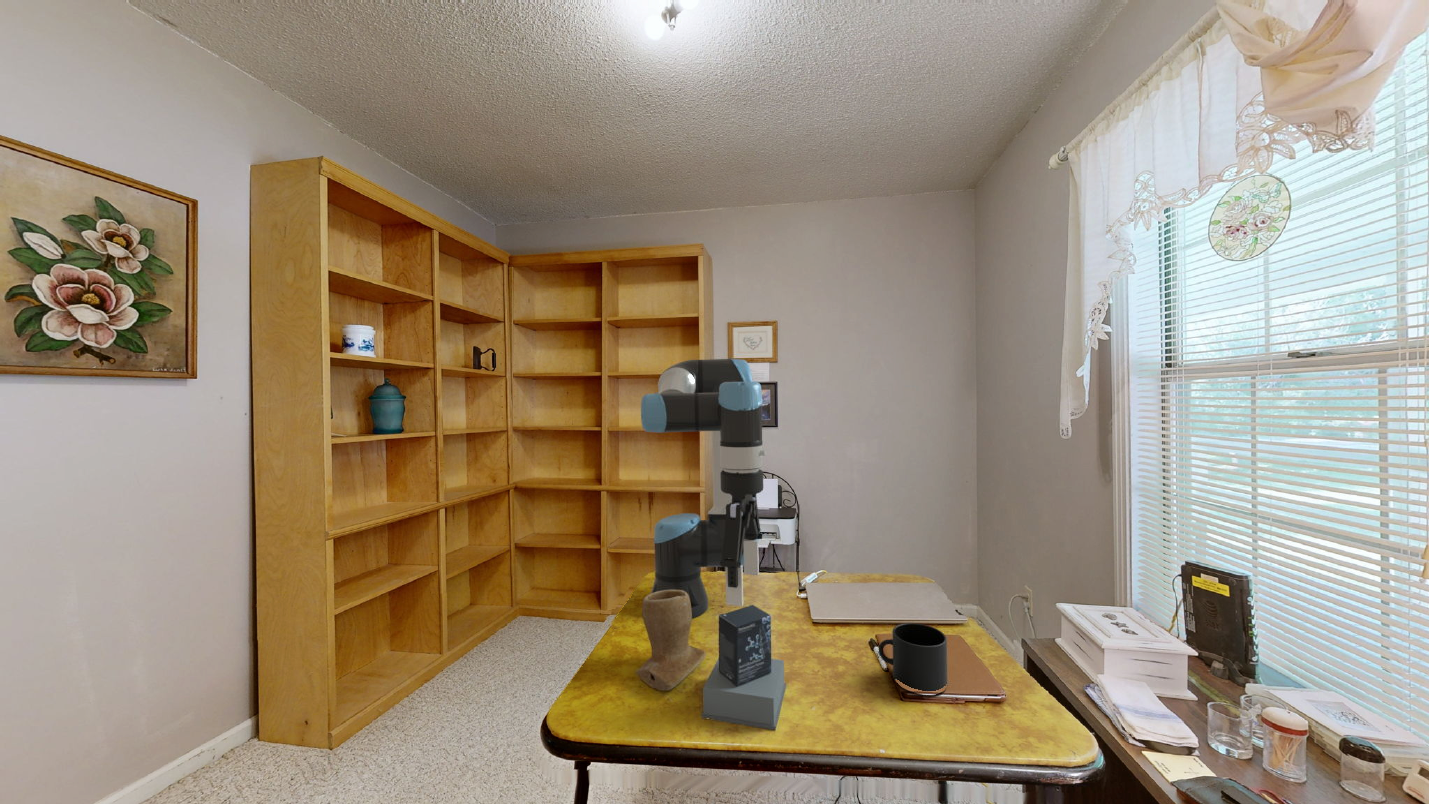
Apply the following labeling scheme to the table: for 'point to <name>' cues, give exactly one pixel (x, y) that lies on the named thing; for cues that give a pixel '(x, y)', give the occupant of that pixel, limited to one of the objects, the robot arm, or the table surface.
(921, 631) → the mug
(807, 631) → the table surface
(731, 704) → the plinth
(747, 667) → the box
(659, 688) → the stone cup
